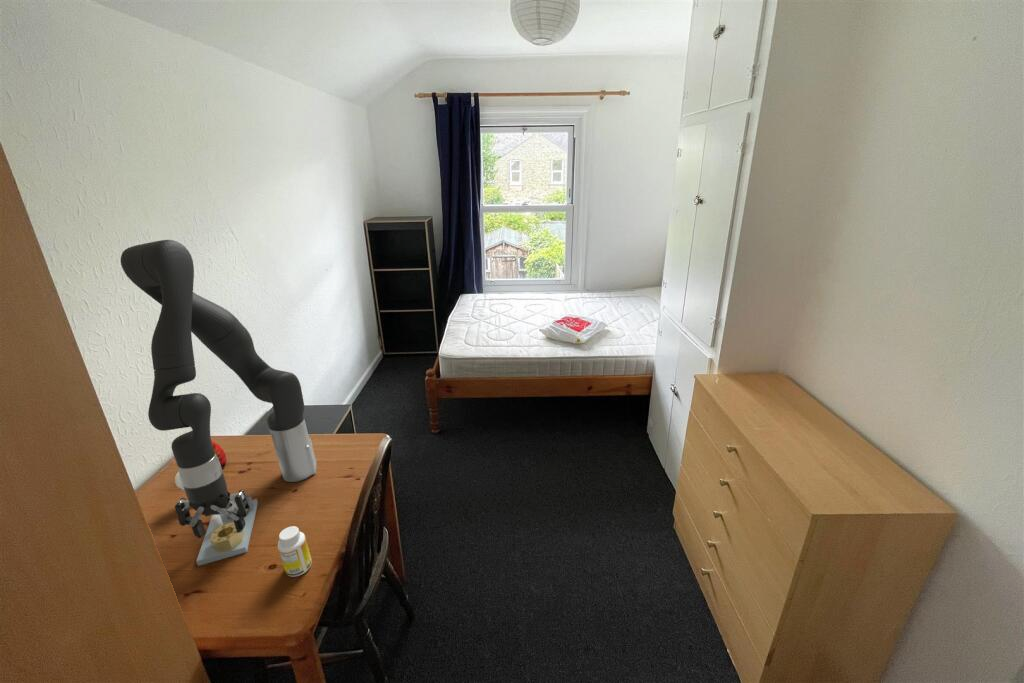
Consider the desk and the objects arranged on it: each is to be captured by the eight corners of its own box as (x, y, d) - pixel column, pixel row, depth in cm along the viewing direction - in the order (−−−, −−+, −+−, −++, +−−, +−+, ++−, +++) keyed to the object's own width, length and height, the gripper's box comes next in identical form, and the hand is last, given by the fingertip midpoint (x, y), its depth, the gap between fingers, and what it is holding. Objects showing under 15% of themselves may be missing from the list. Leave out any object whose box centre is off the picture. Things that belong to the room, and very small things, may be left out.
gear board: (257, 503, 121) (252, 486, 119) (246, 551, 105) (240, 534, 103) (215, 514, 117) (209, 497, 115) (198, 565, 102) (190, 547, 100)
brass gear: (245, 529, 110) (242, 519, 109) (240, 546, 104) (237, 537, 103) (217, 536, 108) (214, 527, 107) (211, 555, 103) (207, 545, 101)
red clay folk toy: (195, 475, 134) (179, 432, 128) (210, 460, 140) (196, 419, 135) (219, 474, 133) (205, 431, 128) (234, 460, 140) (220, 419, 135)
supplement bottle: (305, 553, 104) (295, 519, 100) (316, 565, 100) (307, 530, 97) (281, 569, 100) (270, 534, 96) (292, 582, 96) (281, 546, 93)
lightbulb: (182, 512, 119) (169, 478, 115) (186, 498, 124) (173, 466, 120) (209, 504, 121) (197, 470, 117) (211, 491, 126) (200, 458, 122)
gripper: (243, 462, 104) (259, 517, 109) (176, 470, 102) (196, 526, 107) (229, 482, 97) (247, 540, 102) (157, 491, 95) (180, 550, 100)
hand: (221, 532), depth 105 cm, fingers open, 8 cm apart
